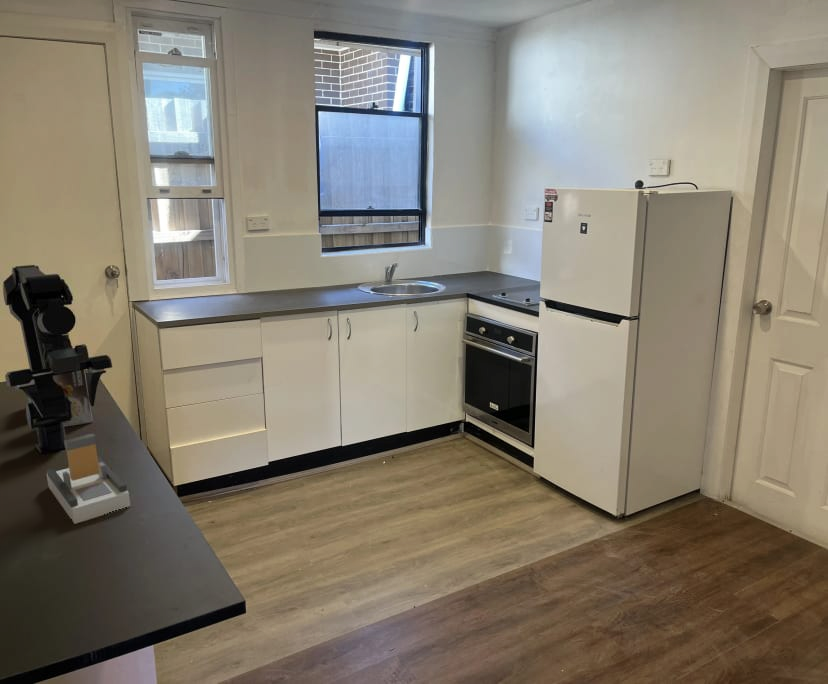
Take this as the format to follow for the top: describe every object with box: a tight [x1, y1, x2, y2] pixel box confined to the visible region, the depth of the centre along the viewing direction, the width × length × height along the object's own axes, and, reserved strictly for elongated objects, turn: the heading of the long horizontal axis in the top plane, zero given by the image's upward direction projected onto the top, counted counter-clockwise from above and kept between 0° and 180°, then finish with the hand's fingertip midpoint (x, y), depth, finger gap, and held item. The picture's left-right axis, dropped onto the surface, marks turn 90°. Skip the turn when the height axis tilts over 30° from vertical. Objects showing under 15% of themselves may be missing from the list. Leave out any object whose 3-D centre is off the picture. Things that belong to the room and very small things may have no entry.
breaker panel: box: [46, 456, 131, 525], centre depth 131 cm, size 20×10×6 cm, turn 41°
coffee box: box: [53, 370, 93, 428], centre depth 171 cm, size 9×6×16 cm
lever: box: [64, 433, 100, 481], centre depth 130 cm, size 2×5×8 cm, turn 130°
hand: (68, 411), depth 135 cm, fingers open, 9 cm apart
